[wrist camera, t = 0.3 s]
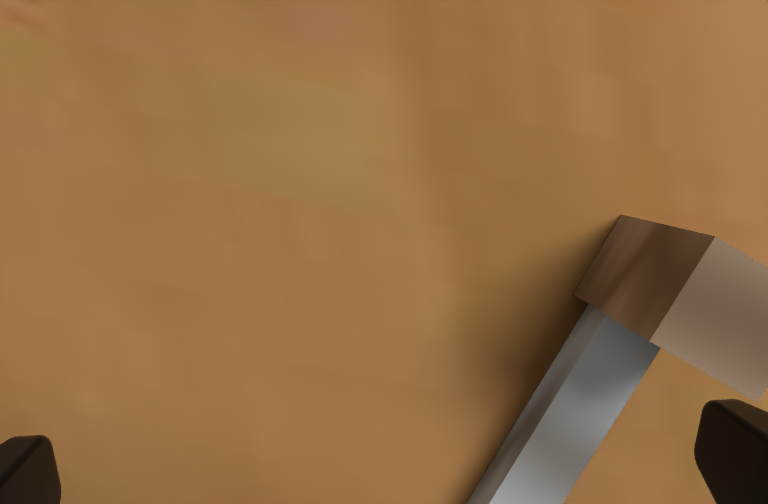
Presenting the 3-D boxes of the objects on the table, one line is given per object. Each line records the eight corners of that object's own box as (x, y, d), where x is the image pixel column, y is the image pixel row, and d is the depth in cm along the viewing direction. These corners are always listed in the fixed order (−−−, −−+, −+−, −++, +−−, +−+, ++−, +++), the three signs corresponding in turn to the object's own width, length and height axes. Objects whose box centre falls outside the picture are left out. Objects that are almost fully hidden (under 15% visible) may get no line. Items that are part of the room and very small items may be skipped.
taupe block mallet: (500, 589, 26) (549, 718, 20) (417, 549, 25) (441, 670, 20) (705, 264, 24) (823, 302, 19) (621, 214, 24) (715, 236, 18)
